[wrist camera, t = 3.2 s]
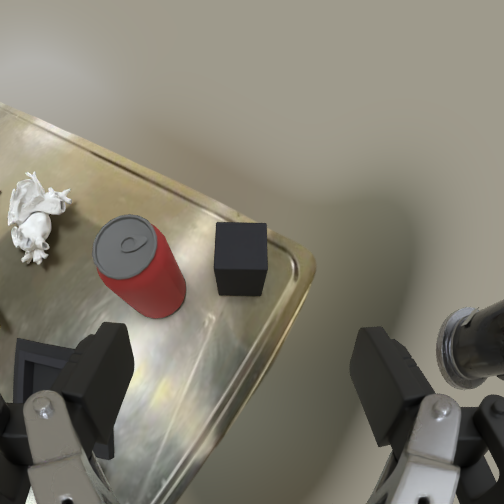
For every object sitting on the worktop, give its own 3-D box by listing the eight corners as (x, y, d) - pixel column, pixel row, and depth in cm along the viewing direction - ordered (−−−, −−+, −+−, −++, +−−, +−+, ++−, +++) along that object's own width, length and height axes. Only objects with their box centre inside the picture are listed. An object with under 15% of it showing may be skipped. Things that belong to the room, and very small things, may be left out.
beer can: (193, 311, 32) (170, 272, 21) (137, 326, 31) (90, 294, 20) (179, 257, 35) (156, 199, 24) (127, 272, 34) (84, 221, 23)
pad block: (260, 257, 35) (266, 222, 28) (261, 296, 33) (267, 269, 26) (220, 256, 35) (216, 221, 28) (218, 295, 33) (213, 268, 26)
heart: (15, 171, 33) (61, 166, 30) (44, 189, 39) (92, 190, 36) (-12, 250, 30) (28, 263, 27) (21, 262, 36) (66, 276, 34)
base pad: (115, 355, 30) (102, 352, 26) (114, 457, 25) (101, 464, 22) (23, 339, 29) (7, 334, 26) (20, 428, 24) (3, 429, 21)
